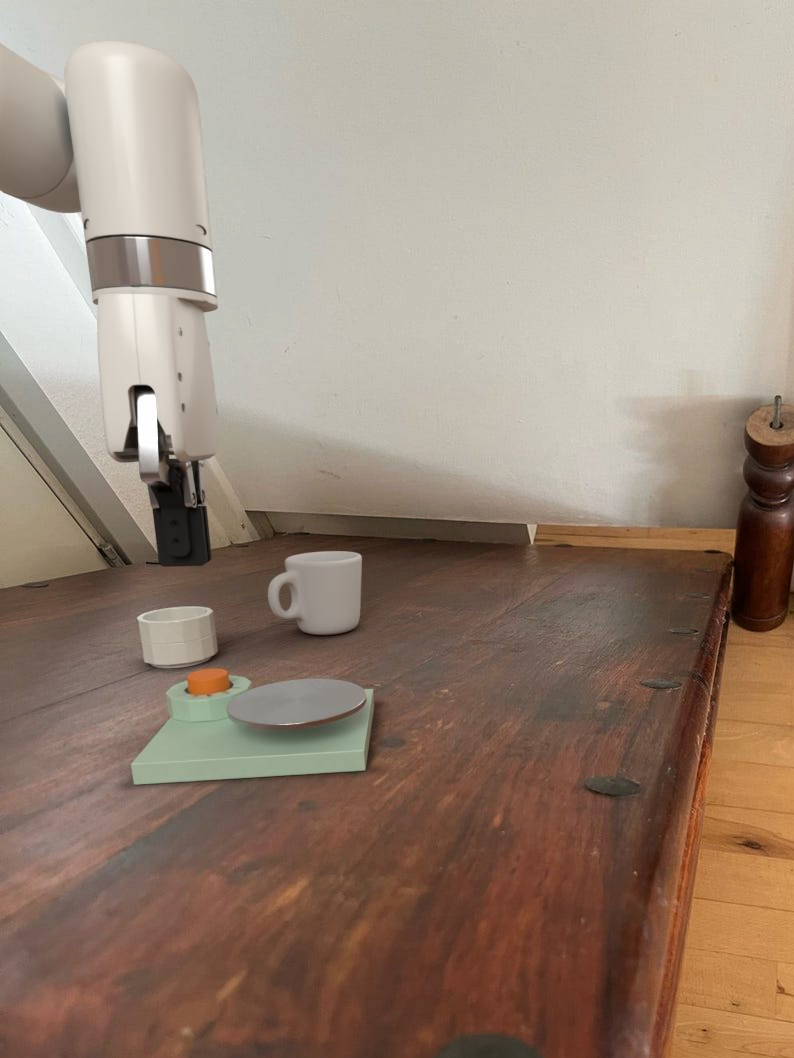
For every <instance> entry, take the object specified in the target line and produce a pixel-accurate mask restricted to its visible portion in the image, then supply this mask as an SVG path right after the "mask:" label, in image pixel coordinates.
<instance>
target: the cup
mask: <svg viewBox="0 0 794 1058" xmlns="http://www.w3.org/2000/svg"><path fill="white" fill-rule="evenodd" d="M362 562H363V557H362V555H361V554H360V553H358V552H355V551H344V550H343V551H342V550H328V551H313V552H303V553H298V554H294V555H291V556H288V557H286V558H285V559H284V567H285V572H282V573H280V574H278V575H276V576H275V577H273V579H272V580H271V581H270V582H269V585H268V589H267V600H268V604H269V607H270V609H271V611H272V613H273V615H275V617H277V618H279V619H281V620H294V619H295V621H296V624H297V626H298V628H299V629H300V631H301V632H303V633H306V634H309V635H314V636H331V635H339V634H343V633H347V632H350V631H352V630H354V629H355V628H356V627H357V626H358V624H359V622H360V618H361V617H360V616H361V604H362V603H361V599H362V573H363V571H362V570H363V569H362V568H363V567H362V566H363V565H362V564H363V563H362ZM284 585H287V586H288V587H289V593H290V597H291V601H290V602H291V603H290V606H289V608H288V609H287V610H284V609H283V607H282V605H281V601H280V591H281V588H282V587H283V586H284Z"/></svg>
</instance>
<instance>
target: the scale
mask: <svg viewBox="0 0 794 1058" xmlns="http://www.w3.org/2000/svg"><path fill="white" fill-rule="evenodd" d="M228 676H229V684H230V689H228V690H226V691H224V692H219V693H214V694H209V695H192V694H189V690H188V682H187V679H186V680H184V681H182V682H179V683H175V684H173V685H172V686H170V687H169V688H168V690H167V691H166V692H165V699H166V706H167V714H168V715H169V717H170V718H168V720H167V721H166V722H165V723H164V725H163V726H162V727H161V728H160V729H159V730H158V732H157V733H155V735H154V736H153V737H152V739H151V740H150V741H149V742H148V743H147V744H146V746H145V747H144V748H143V749H142V750H141V751H140V753H139V754H138V755H137V756H136V757H135V758H134V759H133V761H132V762H131V763H130V769H131V775H132V782H133V785H135V786H136V785H153V784H169V783H170V784H171V783H189V782H205V781H219V780H220V781H221V780H235V779H250V778H251V779H252V778H269V777H282V776H283V777H284V776H302V775H318V774H331V773H333V774H334V773H347V772H348V773H349V772H350V773H351V772H363V771H366V769H367V763H368V762H367V761H368V755H369V748H370V740H371V734H372V733H371V732H372V725H373V718H374V710H375V695H374V693H375V692H374V688H363V689H364V690H365V692H366V703H365V705H364V706H363V708H361V709H360V710H359V711H358V712H356V713H355V714H353V715H351V716H349V717H346V718H344V719H341V720H338V721H335V722H332V723H328V724H324V725H320V726H315V727H309V728H302V729H292V730H262V729H254V728H248V727H244V726H241V725H238V724H236V723H234V722H232V721H231V720H230V719H229V718H228V715H227V705H228V703H229V702H230V701H231V700H232V699H233V698H235V697H236V696H238V695H240V694H242V693H244V692H246V691H248V690H251V689H253V683H252V681H251V680H250V679H248V678H247V677H245V676H238V675H232V674H228Z"/></svg>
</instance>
